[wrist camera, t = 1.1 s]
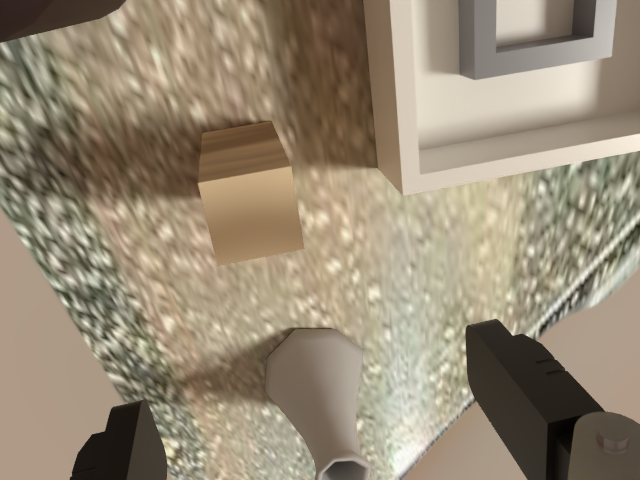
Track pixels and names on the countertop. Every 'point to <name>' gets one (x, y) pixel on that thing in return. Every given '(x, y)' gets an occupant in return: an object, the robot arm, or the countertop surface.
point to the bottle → (49, 15)
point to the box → (500, 86)
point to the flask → (321, 398)
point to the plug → (248, 193)
